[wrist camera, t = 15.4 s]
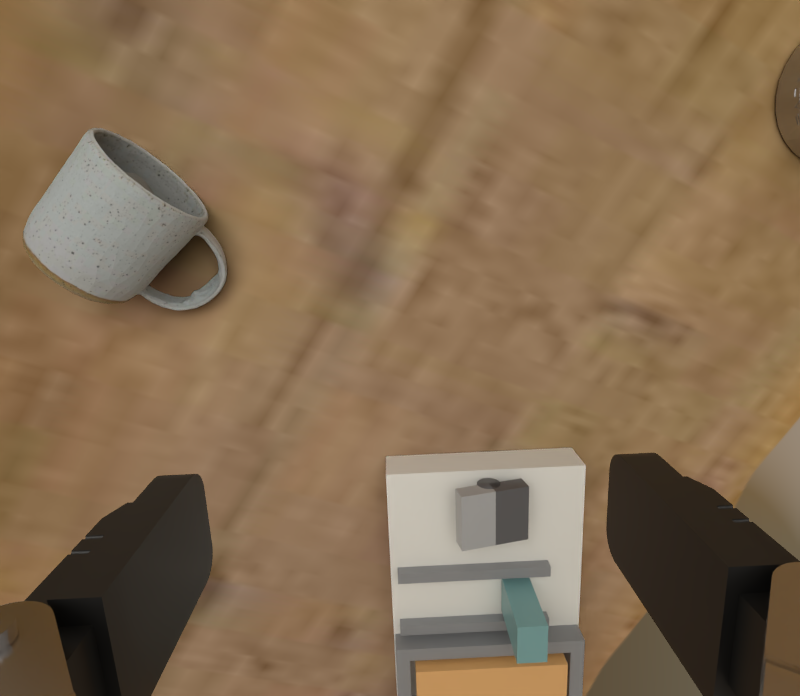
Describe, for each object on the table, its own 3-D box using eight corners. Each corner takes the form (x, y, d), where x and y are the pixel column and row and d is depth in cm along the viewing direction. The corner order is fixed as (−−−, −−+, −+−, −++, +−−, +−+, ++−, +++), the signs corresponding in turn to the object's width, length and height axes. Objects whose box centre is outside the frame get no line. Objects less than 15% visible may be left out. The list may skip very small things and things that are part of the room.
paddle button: (559, 643, 41) (567, 664, 39) (557, 686, 42) (566, 709, 40) (414, 650, 41) (415, 672, 39) (416, 694, 42) (417, 717, 40)
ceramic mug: (58, 229, 36) (-25, 234, 29) (131, 133, 35) (64, 113, 28) (186, 333, 38) (140, 363, 31) (260, 246, 37) (230, 256, 30)
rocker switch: (516, 473, 38) (529, 486, 36) (515, 523, 39) (528, 539, 37) (451, 483, 37) (461, 497, 35) (452, 534, 38) (462, 551, 36)
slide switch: (528, 576, 40) (548, 625, 35) (528, 608, 41) (547, 662, 36) (501, 577, 40) (517, 627, 35) (501, 610, 41) (517, 663, 36)
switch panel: (571, 447, 41) (594, 475, 36) (563, 668, 46) (582, 717, 41) (386, 456, 41) (385, 485, 36) (397, 676, 45) (398, 726, 41)
